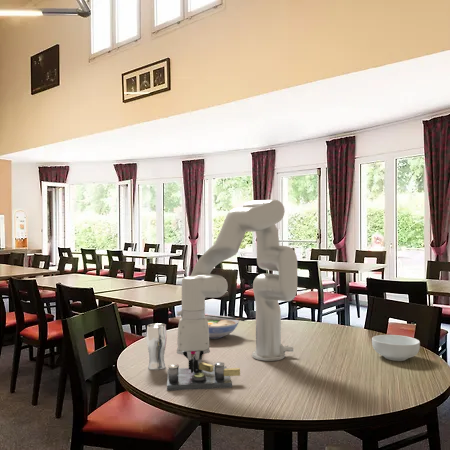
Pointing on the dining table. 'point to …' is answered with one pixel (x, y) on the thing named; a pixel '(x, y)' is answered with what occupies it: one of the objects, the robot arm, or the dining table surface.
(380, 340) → the cereal bowl
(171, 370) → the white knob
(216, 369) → the grey knob
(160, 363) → the beer glass
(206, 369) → the tan lever handle
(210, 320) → the ramen bowl
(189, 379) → the base plate
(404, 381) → the dining table surface
